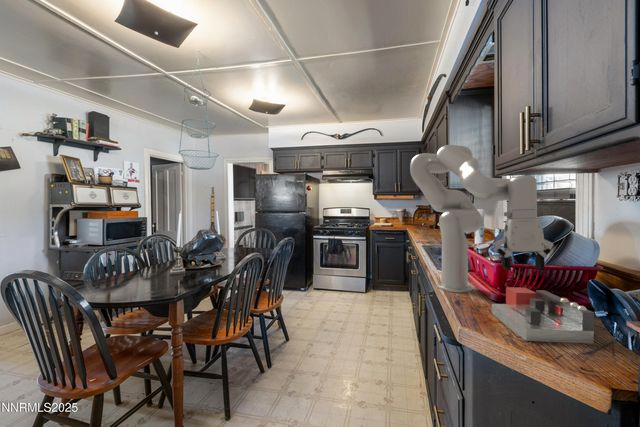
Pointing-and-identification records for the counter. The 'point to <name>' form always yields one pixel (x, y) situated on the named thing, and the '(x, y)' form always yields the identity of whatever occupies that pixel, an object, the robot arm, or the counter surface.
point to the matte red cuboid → (519, 295)
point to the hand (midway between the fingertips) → (523, 269)
